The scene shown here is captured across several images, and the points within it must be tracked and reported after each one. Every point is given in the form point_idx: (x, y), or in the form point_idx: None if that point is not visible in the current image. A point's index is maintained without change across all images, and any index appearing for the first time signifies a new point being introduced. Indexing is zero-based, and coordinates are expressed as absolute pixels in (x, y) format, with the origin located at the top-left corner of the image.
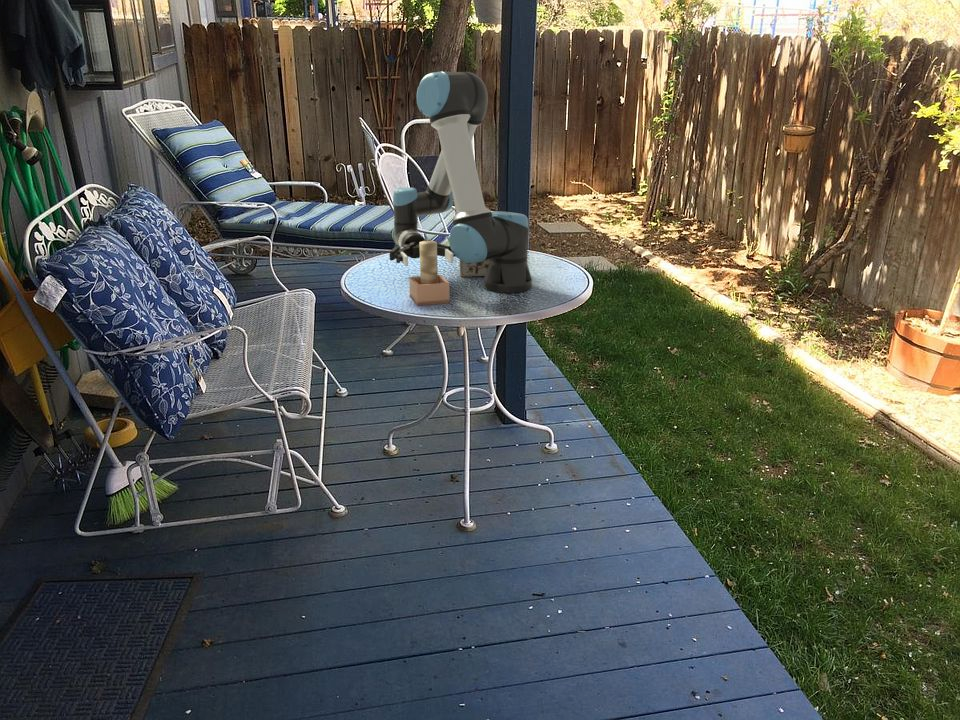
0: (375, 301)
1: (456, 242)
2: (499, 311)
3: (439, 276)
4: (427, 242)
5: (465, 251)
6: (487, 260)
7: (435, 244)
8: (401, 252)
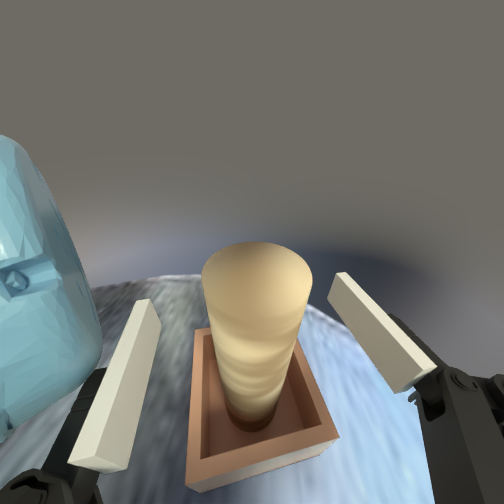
0: (407, 399)
1: (73, 278)
2: (133, 297)
3: (200, 444)
4: (260, 271)
5: (83, 280)
6: None
7: (218, 256)
8: (415, 347)
